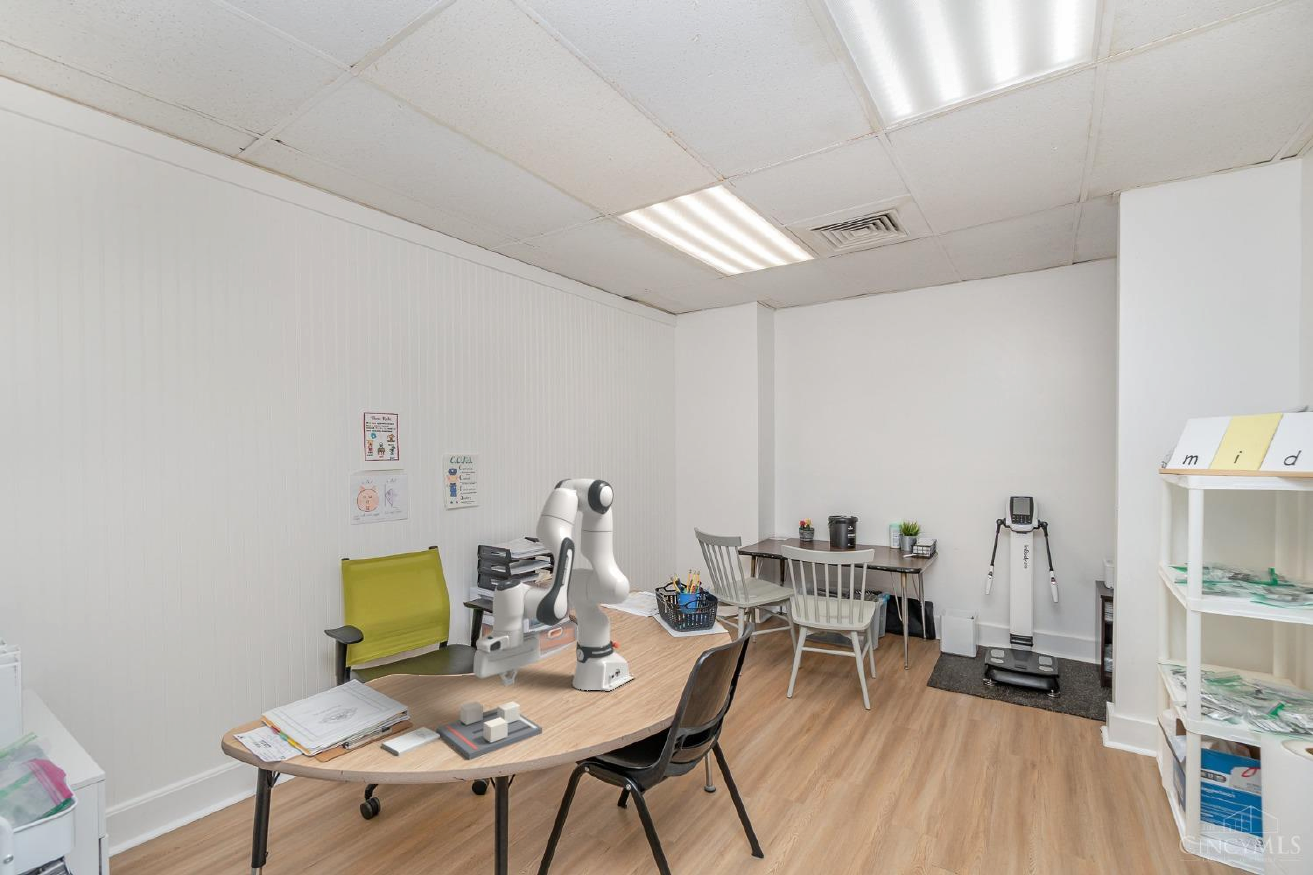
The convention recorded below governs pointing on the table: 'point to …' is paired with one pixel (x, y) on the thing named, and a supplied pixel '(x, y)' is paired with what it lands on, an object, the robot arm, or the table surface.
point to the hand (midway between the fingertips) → (508, 684)
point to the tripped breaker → (509, 712)
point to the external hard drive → (410, 741)
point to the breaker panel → (471, 735)
